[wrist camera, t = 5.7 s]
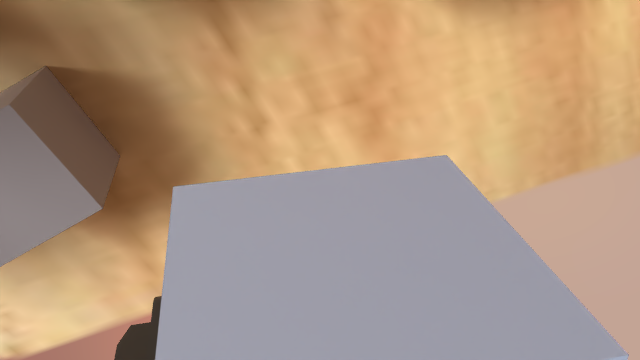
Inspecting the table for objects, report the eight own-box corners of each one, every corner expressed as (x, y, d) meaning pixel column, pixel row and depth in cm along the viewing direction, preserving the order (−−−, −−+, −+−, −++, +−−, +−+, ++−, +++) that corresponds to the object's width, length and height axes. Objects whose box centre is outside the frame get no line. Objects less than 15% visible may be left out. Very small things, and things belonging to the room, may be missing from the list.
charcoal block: (-51, 122, 28) (-110, 174, 23) (46, 65, 28) (8, 104, 22) (31, 206, 31) (-4, 268, 26) (120, 155, 30) (102, 208, 25)
